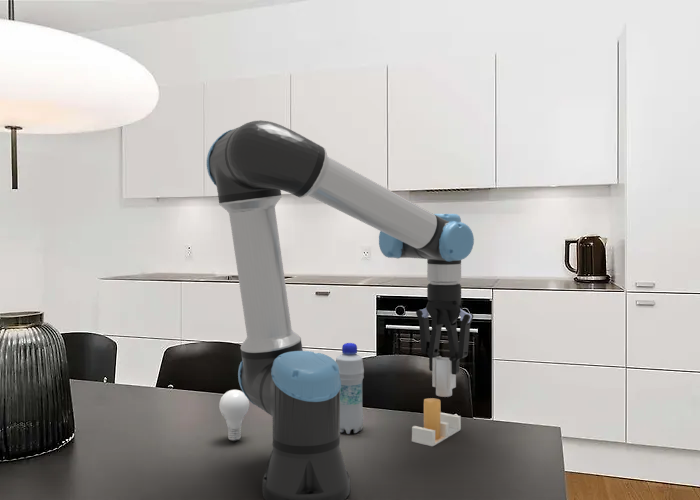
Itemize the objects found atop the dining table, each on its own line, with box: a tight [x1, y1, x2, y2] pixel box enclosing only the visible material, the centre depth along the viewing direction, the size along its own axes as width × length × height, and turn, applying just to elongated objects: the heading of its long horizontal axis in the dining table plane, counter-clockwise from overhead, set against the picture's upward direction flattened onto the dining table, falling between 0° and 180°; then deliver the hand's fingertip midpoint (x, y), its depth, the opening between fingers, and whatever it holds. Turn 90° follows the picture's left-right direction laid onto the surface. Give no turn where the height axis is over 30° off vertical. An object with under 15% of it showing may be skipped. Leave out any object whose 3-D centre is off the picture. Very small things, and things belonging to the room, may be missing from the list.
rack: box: [411, 411, 462, 447], centre depth 134 cm, size 13×5×3 cm, turn 143°
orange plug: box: [423, 397, 442, 440], centre depth 132 cm, size 4×4×8 cm
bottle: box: [335, 342, 365, 435], centre depth 137 cm, size 7×7×20 cm
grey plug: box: [435, 356, 453, 398], centre depth 136 cm, size 4×4×8 cm
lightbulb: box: [218, 389, 250, 442], centre depth 130 cm, size 6×6×11 cm
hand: (444, 386), depth 136 cm, fingers closed on grey plug, 3 cm apart
